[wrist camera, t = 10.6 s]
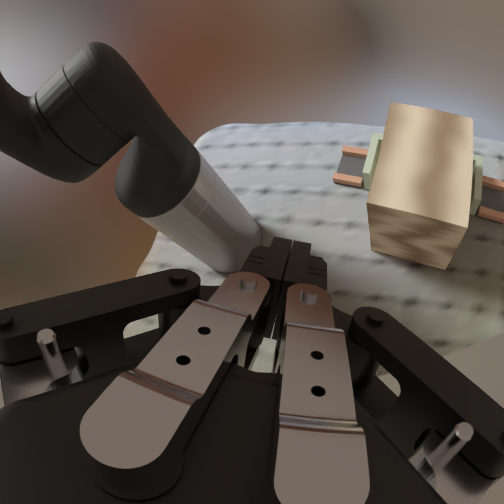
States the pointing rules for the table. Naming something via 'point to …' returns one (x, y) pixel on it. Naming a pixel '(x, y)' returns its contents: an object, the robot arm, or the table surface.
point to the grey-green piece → (364, 164)
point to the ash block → (421, 185)
